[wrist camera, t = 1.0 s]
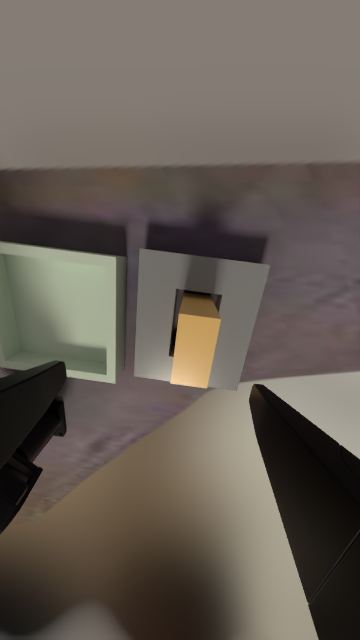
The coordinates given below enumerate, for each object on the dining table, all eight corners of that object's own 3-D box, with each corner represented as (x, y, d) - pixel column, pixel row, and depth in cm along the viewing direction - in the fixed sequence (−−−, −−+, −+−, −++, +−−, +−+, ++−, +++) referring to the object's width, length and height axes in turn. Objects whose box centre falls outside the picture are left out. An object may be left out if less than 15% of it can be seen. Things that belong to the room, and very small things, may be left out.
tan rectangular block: (202, 344, 23) (206, 388, 15) (177, 341, 23) (170, 383, 15) (210, 296, 21) (221, 319, 13) (184, 292, 21) (179, 313, 13)
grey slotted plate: (232, 377, 24) (236, 390, 22) (139, 364, 24) (133, 376, 22) (261, 263, 19) (270, 264, 17) (146, 249, 20) (139, 248, 17)
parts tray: (124, 368, 25) (115, 383, 22) (20, 354, 25) (-2, 366, 22) (126, 256, 20) (116, 257, 17) (-1, 240, 20) (-33, 238, 17)
